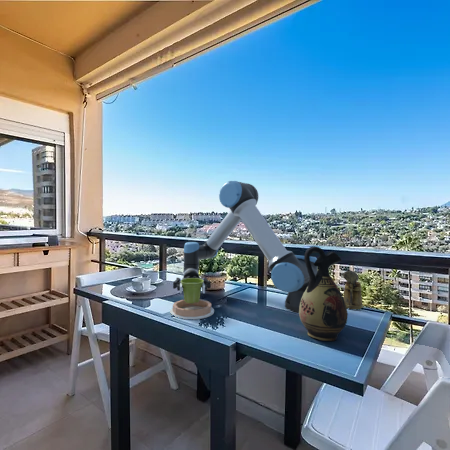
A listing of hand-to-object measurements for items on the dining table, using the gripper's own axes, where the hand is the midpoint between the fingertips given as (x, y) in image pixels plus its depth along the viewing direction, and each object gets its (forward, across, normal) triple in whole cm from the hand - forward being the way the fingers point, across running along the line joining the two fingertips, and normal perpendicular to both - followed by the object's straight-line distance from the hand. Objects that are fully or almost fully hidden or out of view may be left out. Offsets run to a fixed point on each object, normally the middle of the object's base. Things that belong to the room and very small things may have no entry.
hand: (192, 289), depth 115 cm
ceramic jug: (+23, -42, -10) cm, 49 cm away
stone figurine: (-3, -70, -10) cm, 71 cm away
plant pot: (-5, 0, -6) cm, 8 cm away
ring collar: (-4, 0, -10) cm, 11 cm away
